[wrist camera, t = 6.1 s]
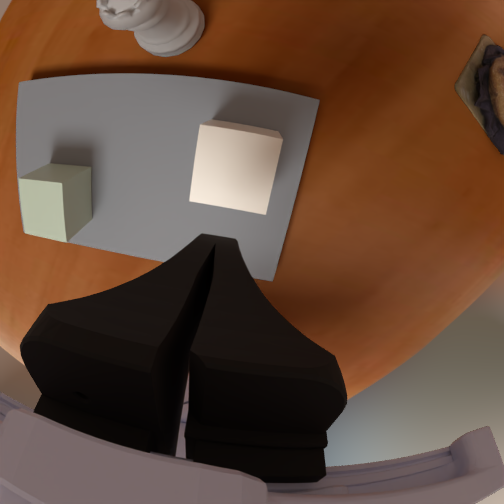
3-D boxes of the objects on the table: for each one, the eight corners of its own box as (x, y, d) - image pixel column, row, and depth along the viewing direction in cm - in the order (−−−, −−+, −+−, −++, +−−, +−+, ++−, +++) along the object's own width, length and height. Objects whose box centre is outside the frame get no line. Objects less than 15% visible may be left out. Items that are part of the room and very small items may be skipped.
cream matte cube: (264, 192, 18) (265, 214, 15) (201, 181, 18) (189, 201, 15) (278, 131, 17) (282, 139, 13) (211, 119, 16) (199, 124, 13)
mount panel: (272, 270, 23) (273, 302, 20) (33, 225, 22) (7, 245, 18) (315, 99, 17) (329, 100, 13) (30, 81, 15) (-3, 84, 12)
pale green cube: (92, 219, 20) (66, 242, 16) (52, 212, 19) (24, 233, 16) (91, 166, 18) (62, 183, 14) (49, 163, 17) (18, 178, 14)
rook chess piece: (129, 30, 14) (63, 6, 7) (180, -11, 13) (138, -60, 6) (165, 70, 16) (109, 58, 9) (220, 29, 15) (195, -13, 8)
